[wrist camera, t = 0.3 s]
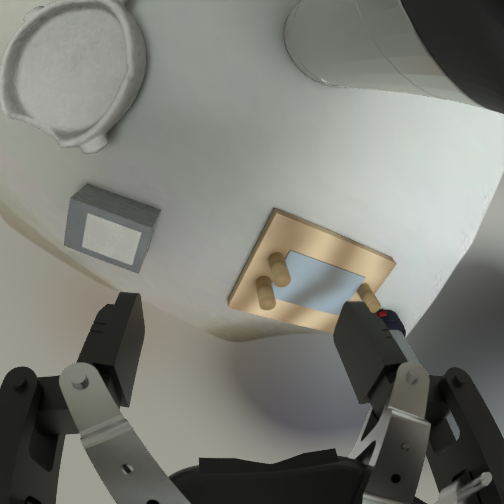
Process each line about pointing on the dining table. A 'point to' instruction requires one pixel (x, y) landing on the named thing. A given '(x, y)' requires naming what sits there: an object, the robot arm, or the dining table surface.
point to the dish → (74, 70)
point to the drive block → (110, 227)
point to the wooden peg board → (307, 274)
